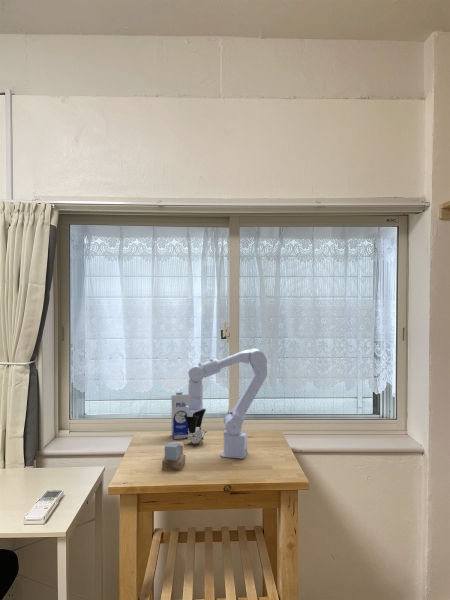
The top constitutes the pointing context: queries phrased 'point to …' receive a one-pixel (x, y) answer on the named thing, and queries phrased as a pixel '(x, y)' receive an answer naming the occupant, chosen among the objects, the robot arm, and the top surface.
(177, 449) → the slate block
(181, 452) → the terracotta block
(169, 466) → the walnut base
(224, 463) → the top surface
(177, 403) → the milk carton
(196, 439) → the game die
